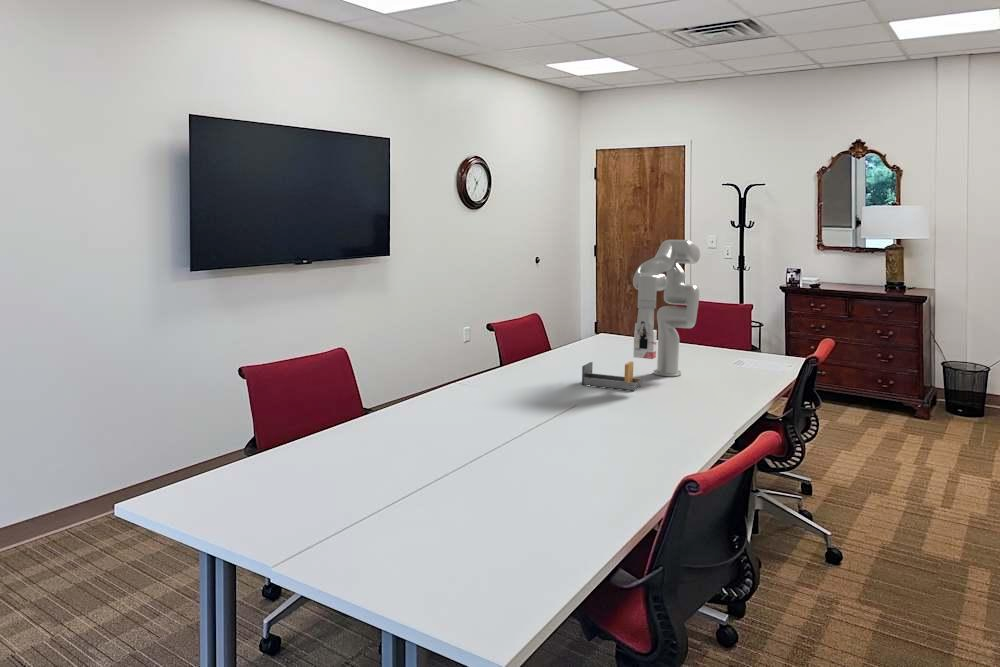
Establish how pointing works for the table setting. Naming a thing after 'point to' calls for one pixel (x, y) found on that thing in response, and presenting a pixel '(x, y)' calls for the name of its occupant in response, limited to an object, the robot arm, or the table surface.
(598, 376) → the lane
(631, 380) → the block
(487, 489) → the table surface
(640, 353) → the ink cartridge box
